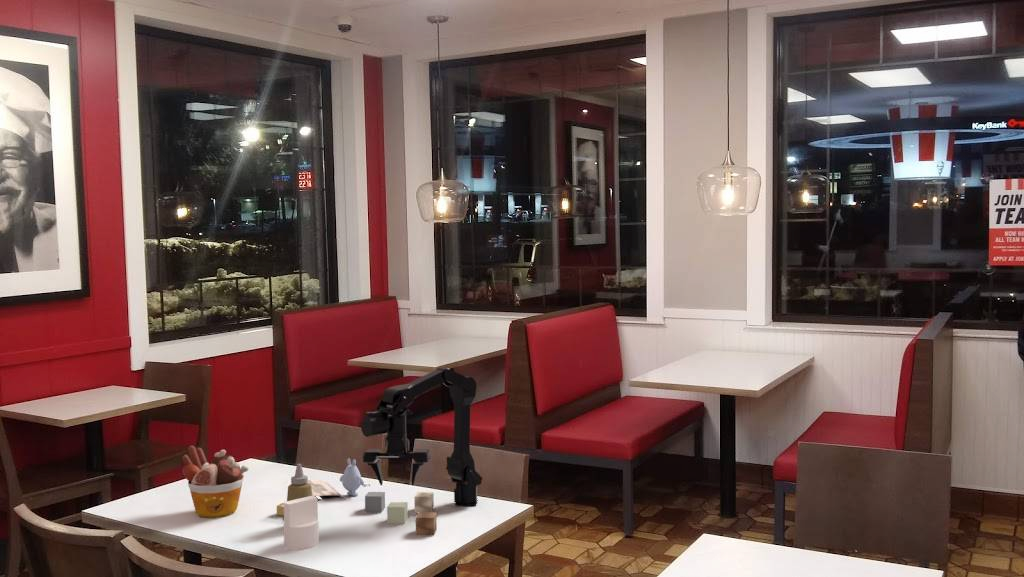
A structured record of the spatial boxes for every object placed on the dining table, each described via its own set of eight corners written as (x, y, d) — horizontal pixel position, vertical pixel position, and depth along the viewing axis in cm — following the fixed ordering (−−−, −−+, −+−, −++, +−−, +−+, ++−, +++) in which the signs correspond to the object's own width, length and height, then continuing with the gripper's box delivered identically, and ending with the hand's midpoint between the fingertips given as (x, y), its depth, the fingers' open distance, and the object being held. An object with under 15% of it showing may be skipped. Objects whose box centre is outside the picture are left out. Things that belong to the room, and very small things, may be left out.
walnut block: (436, 530, 251) (436, 512, 251) (433, 535, 246) (433, 517, 246) (418, 529, 251) (418, 512, 251) (415, 535, 246) (415, 517, 246)
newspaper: (290, 487, 300) (290, 480, 300) (326, 487, 305) (326, 480, 305) (304, 504, 279) (305, 496, 279) (342, 503, 284) (343, 495, 284)
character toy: (293, 509, 261) (271, 506, 264) (293, 520, 261) (271, 517, 264) (309, 501, 269) (287, 499, 271) (309, 512, 269) (287, 510, 272)
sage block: (407, 519, 262) (407, 502, 261) (404, 524, 257) (404, 507, 256) (390, 518, 262) (390, 502, 262) (387, 524, 257) (387, 507, 257)
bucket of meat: (259, 508, 273) (258, 444, 272) (222, 524, 258) (220, 455, 257) (209, 502, 281) (207, 439, 281) (169, 516, 266) (167, 450, 265)
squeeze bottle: (320, 523, 257) (318, 462, 257) (305, 532, 250) (303, 468, 249) (295, 521, 260) (294, 460, 259) (280, 529, 252) (278, 466, 251)
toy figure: (371, 495, 287) (370, 458, 286) (357, 500, 282) (356, 462, 281) (347, 490, 293) (346, 454, 292) (333, 495, 288) (332, 458, 287)
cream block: (433, 508, 272) (433, 492, 272) (431, 513, 267) (430, 496, 267) (417, 508, 272) (417, 492, 272) (414, 513, 267) (414, 496, 267)
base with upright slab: (307, 536, 246) (306, 493, 246) (325, 544, 240) (324, 499, 239) (277, 544, 240) (277, 500, 239) (295, 552, 233) (294, 506, 233)
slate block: (385, 508, 273) (384, 491, 273) (381, 512, 268) (381, 496, 268) (368, 508, 273) (368, 491, 273) (365, 512, 268) (364, 496, 268)
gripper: (432, 426, 266) (433, 478, 266) (370, 426, 267) (371, 477, 267) (426, 433, 254) (427, 488, 255) (361, 433, 256) (363, 487, 256)
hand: (397, 485), depth 259 cm, fingers open, 9 cm apart
